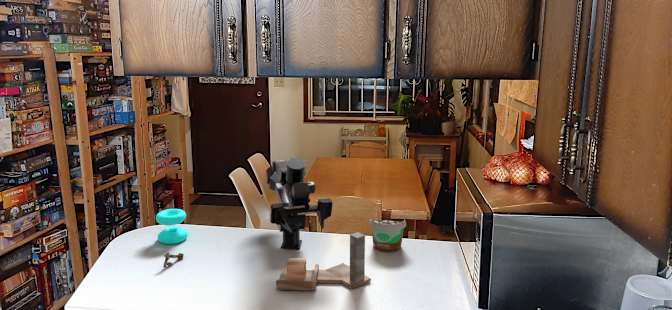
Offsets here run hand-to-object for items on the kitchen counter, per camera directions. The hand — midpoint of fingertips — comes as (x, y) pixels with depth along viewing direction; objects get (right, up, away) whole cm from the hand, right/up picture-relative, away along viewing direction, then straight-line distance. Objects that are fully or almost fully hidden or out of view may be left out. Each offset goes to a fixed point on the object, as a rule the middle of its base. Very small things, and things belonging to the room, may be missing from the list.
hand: (307, 229), depth 145 cm
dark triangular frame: (-43, -13, +13) cm, 46 cm away
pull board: (+2, -15, +2) cm, 15 cm away
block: (-3, -14, +1) cm, 15 cm away
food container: (+25, -10, +22) cm, 35 cm away
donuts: (-49, -8, +31) cm, 58 cm away
